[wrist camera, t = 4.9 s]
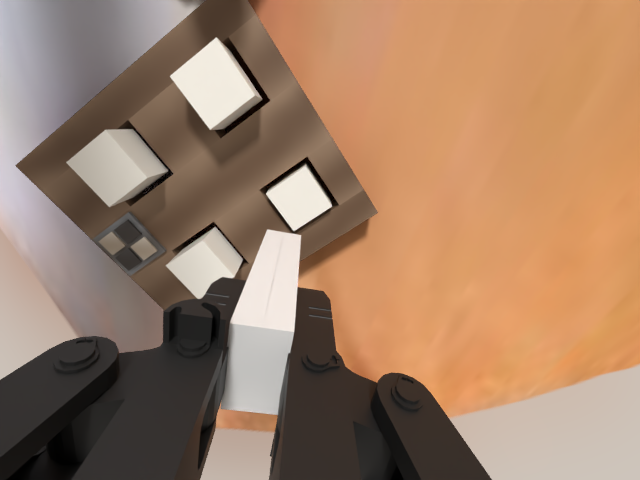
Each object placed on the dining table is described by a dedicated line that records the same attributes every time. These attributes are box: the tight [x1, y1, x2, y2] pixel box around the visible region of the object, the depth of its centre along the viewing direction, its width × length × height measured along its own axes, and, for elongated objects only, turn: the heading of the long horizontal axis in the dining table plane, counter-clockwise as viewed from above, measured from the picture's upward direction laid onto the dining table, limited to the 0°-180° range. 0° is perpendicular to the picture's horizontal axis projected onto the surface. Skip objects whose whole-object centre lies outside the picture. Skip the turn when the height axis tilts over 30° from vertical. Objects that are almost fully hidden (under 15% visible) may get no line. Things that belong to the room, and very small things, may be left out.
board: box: [16, 0, 378, 310], centre depth 26 cm, size 20×22×4 cm
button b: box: [166, 226, 243, 299], centre depth 26 cm, size 4×4×4 cm
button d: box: [266, 162, 332, 231], centre depth 27 cm, size 4×4×4 cm
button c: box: [170, 37, 263, 130], centre depth 22 cm, size 4×4×4 cm
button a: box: [66, 129, 168, 207], centre depth 23 cm, size 4×4×4 cm
